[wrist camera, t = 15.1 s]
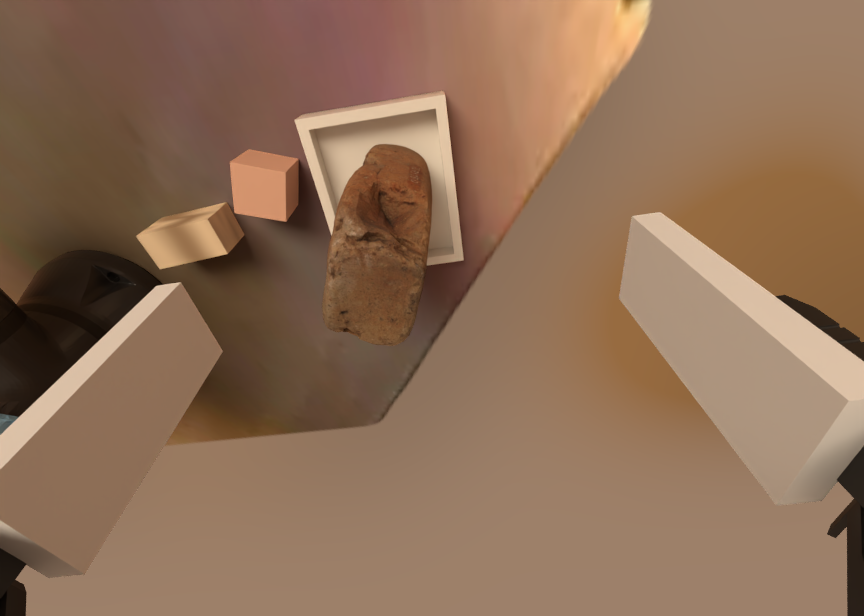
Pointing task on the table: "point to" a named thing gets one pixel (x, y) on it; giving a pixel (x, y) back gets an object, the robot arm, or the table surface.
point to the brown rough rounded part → (380, 247)
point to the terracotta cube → (265, 185)
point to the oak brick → (192, 236)
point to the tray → (387, 124)
